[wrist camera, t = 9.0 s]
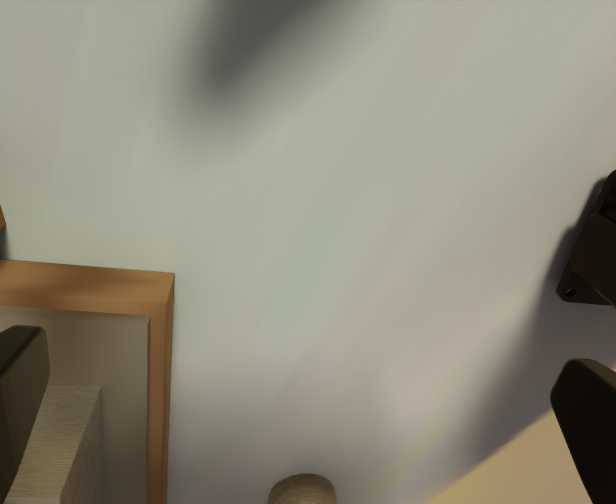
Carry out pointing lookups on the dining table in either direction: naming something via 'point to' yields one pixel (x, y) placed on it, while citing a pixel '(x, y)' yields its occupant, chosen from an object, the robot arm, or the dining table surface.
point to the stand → (106, 357)
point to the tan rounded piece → (303, 490)
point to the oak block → (2, 219)
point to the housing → (63, 451)
